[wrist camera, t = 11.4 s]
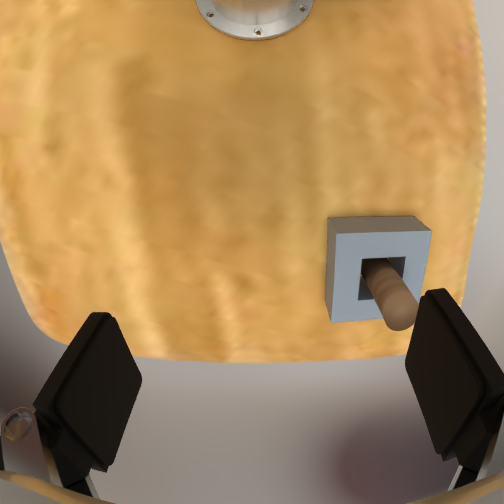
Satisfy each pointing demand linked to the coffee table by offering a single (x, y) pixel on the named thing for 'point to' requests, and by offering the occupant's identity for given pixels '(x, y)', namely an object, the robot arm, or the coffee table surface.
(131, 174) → the coffee table surface
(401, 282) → the peg
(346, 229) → the socket block
